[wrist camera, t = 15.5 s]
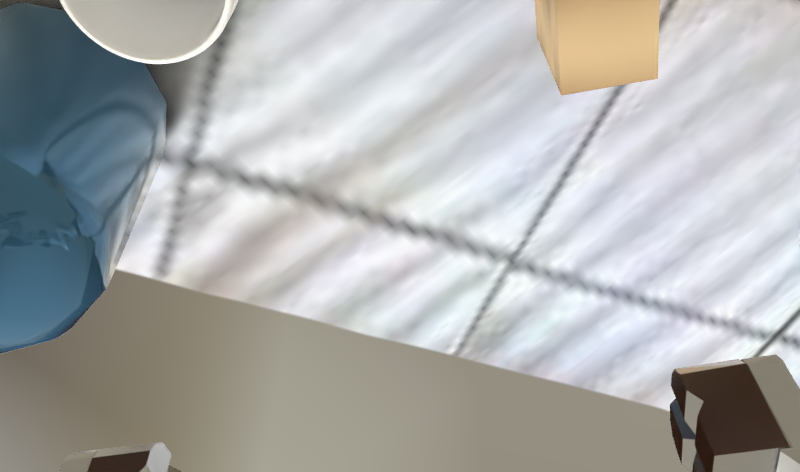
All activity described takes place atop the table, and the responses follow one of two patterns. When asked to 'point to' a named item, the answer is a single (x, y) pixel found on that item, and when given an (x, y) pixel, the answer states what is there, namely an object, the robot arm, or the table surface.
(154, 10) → the cream cylinder
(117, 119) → the blue rounded container
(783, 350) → the table surface
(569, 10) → the wooden block
